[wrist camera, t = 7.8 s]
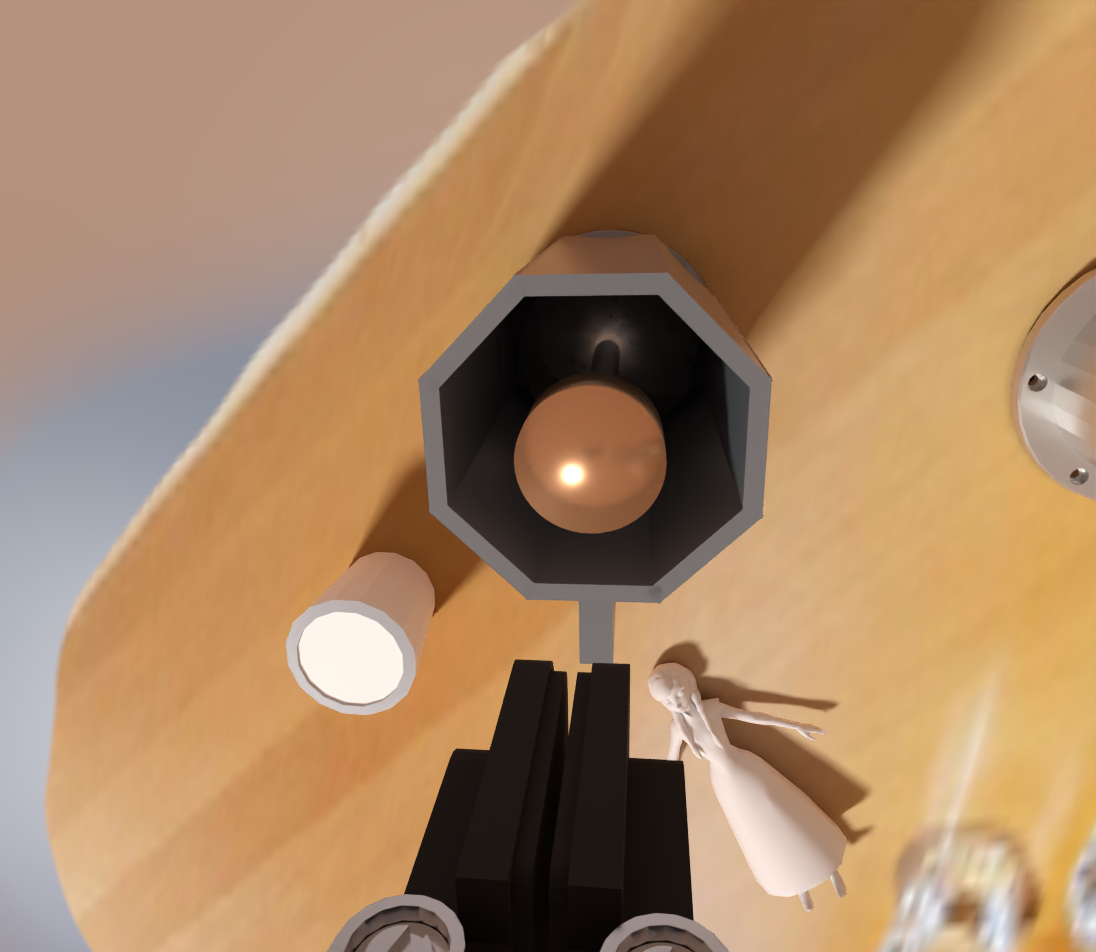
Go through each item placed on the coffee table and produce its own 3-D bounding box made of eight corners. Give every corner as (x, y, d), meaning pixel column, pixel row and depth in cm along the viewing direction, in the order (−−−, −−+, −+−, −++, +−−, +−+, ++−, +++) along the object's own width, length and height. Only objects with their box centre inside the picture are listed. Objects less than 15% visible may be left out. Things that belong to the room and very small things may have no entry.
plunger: (699, 258, 37) (746, 315, 22) (693, 434, 40) (730, 596, 24) (517, 261, 38) (436, 318, 23) (524, 433, 41) (456, 590, 25)
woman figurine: (744, 957, 49) (571, 735, 46) (738, 899, 54) (579, 693, 51) (923, 881, 46) (748, 638, 43) (901, 826, 50) (741, 601, 47)
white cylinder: (400, 521, 46) (361, 577, 40) (468, 613, 48) (442, 682, 41) (309, 575, 48) (257, 638, 42) (377, 663, 50) (338, 736, 43)
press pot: (722, 226, 39) (786, 263, 22) (709, 501, 44) (755, 700, 27) (499, 231, 40) (402, 269, 23) (511, 498, 45) (438, 689, 28)
